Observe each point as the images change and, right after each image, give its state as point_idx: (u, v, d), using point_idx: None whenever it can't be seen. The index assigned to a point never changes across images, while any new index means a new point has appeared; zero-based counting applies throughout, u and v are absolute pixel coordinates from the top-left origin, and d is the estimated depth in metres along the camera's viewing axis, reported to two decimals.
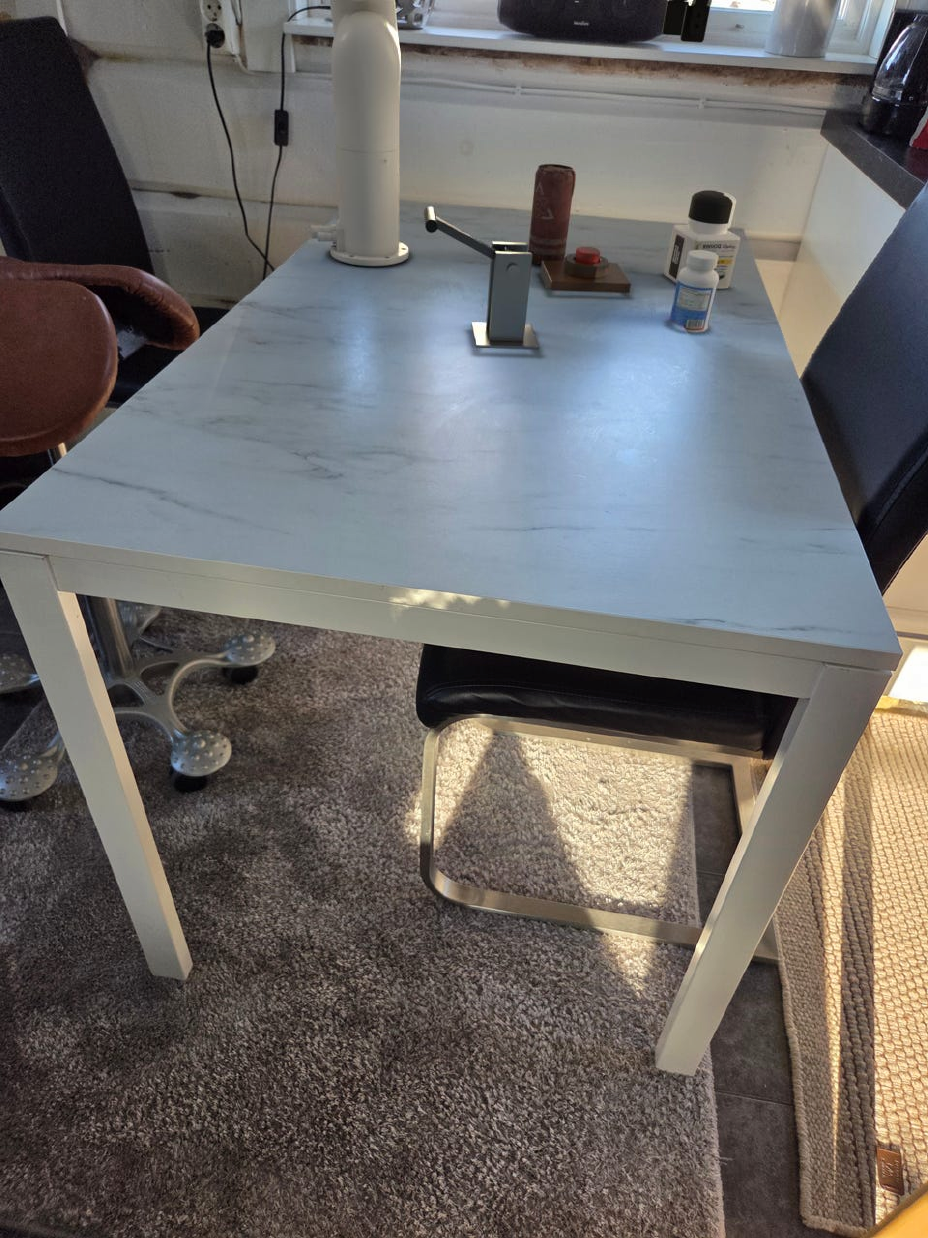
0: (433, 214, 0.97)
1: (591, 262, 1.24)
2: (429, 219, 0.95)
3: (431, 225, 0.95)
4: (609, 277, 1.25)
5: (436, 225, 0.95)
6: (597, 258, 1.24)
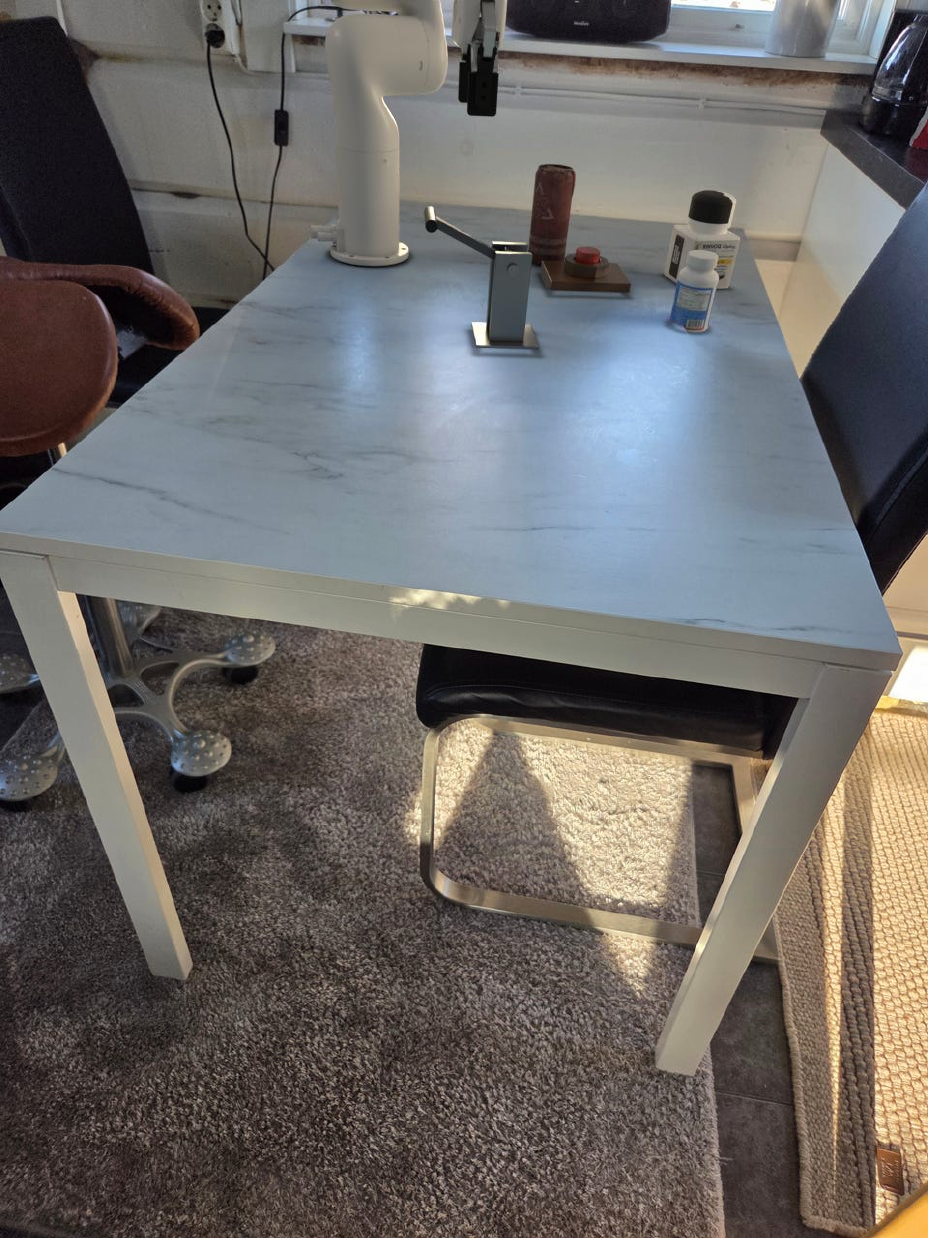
0: (433, 214, 0.97)
1: (591, 262, 1.24)
2: (429, 219, 0.95)
3: (431, 225, 0.95)
4: (609, 277, 1.25)
5: (436, 225, 0.95)
6: (597, 258, 1.24)
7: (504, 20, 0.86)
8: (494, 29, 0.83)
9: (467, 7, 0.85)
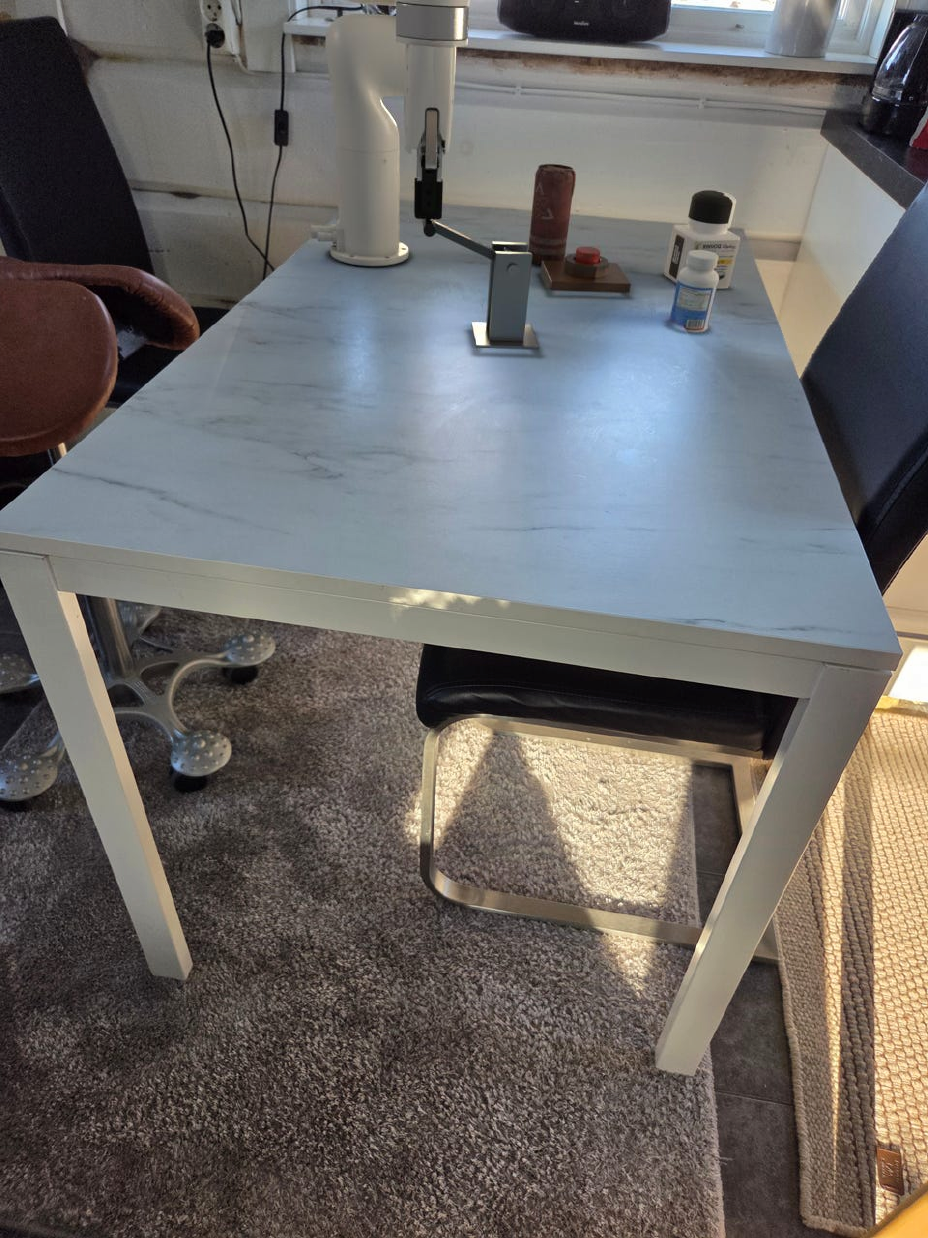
0: None
1: (591, 262, 1.24)
2: (427, 223, 0.96)
3: (429, 229, 0.96)
4: (609, 277, 1.25)
5: (434, 229, 0.96)
6: (597, 258, 1.24)
7: (449, 128, 0.88)
8: (434, 168, 0.90)
9: (412, 117, 0.87)
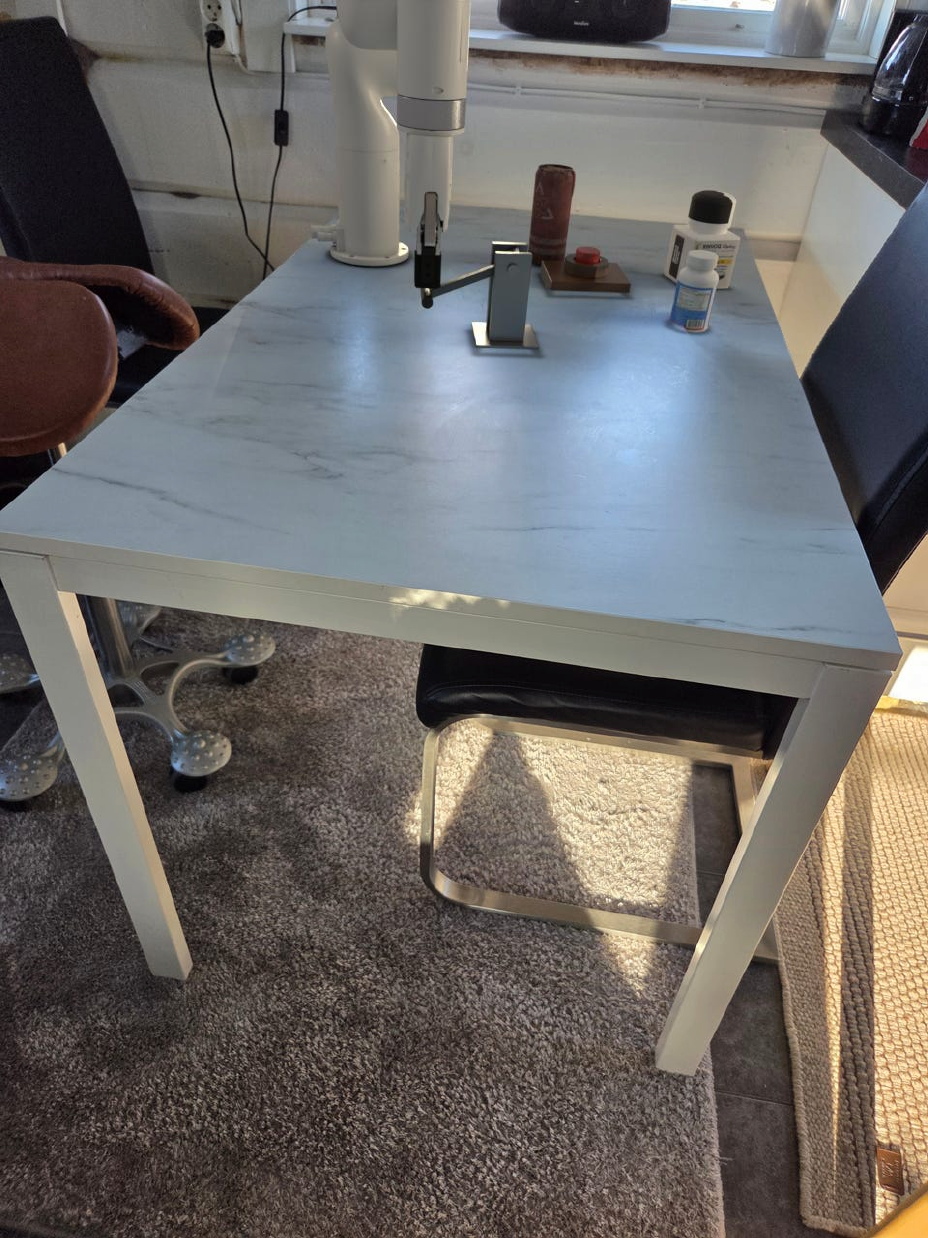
0: (424, 290, 1.03)
1: (591, 262, 1.24)
2: (422, 299, 1.01)
3: (427, 302, 1.01)
4: (609, 277, 1.25)
5: (430, 298, 1.01)
6: (597, 258, 1.24)
7: (447, 210, 0.93)
8: (433, 245, 0.95)
9: (412, 200, 0.92)
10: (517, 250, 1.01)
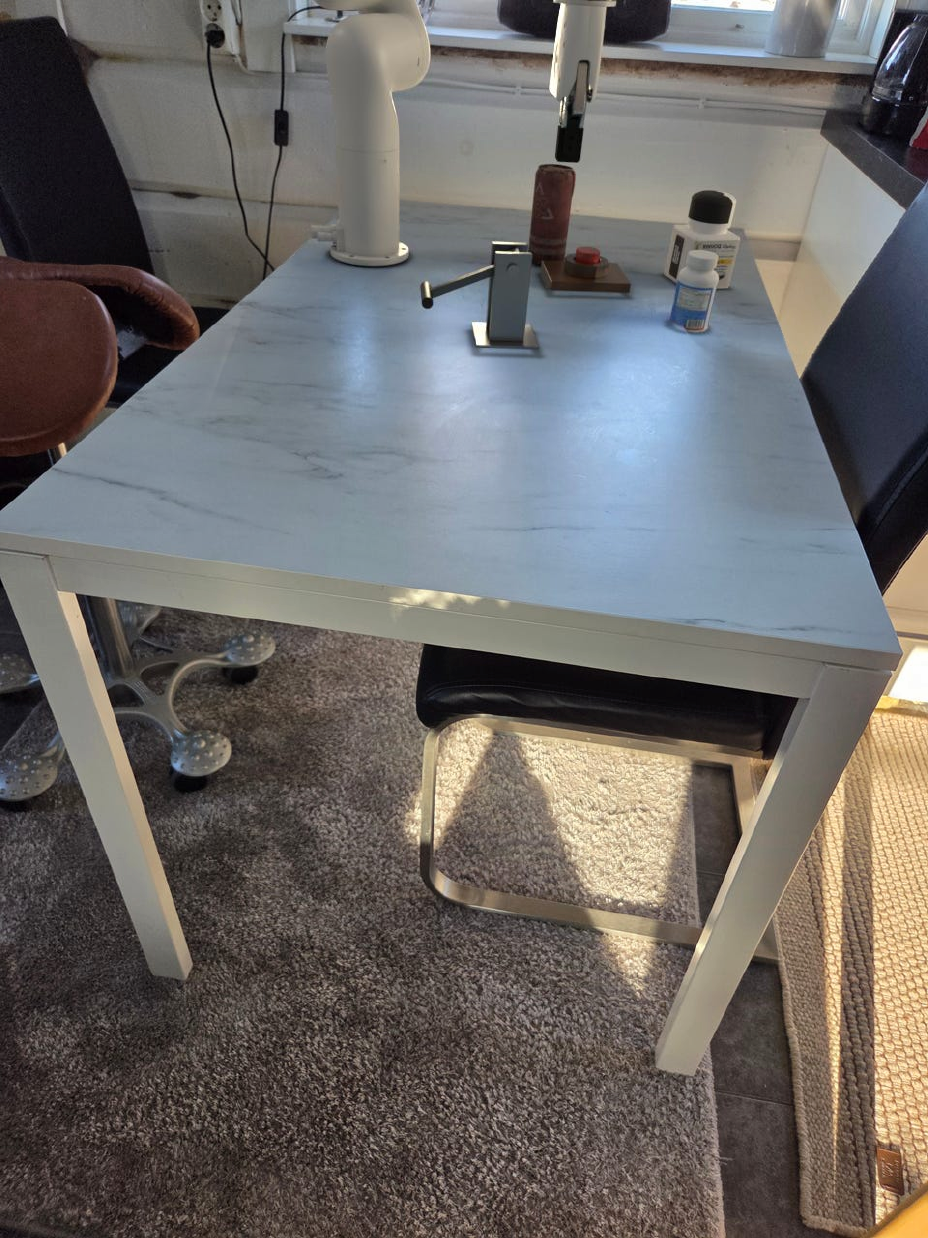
0: (425, 290, 1.03)
1: (591, 262, 1.24)
2: (422, 300, 1.01)
3: (427, 302, 1.01)
4: (609, 277, 1.25)
5: (430, 299, 1.01)
6: (597, 258, 1.24)
7: (597, 78, 1.01)
8: (581, 114, 1.03)
9: (566, 68, 1.00)
10: (517, 250, 1.01)
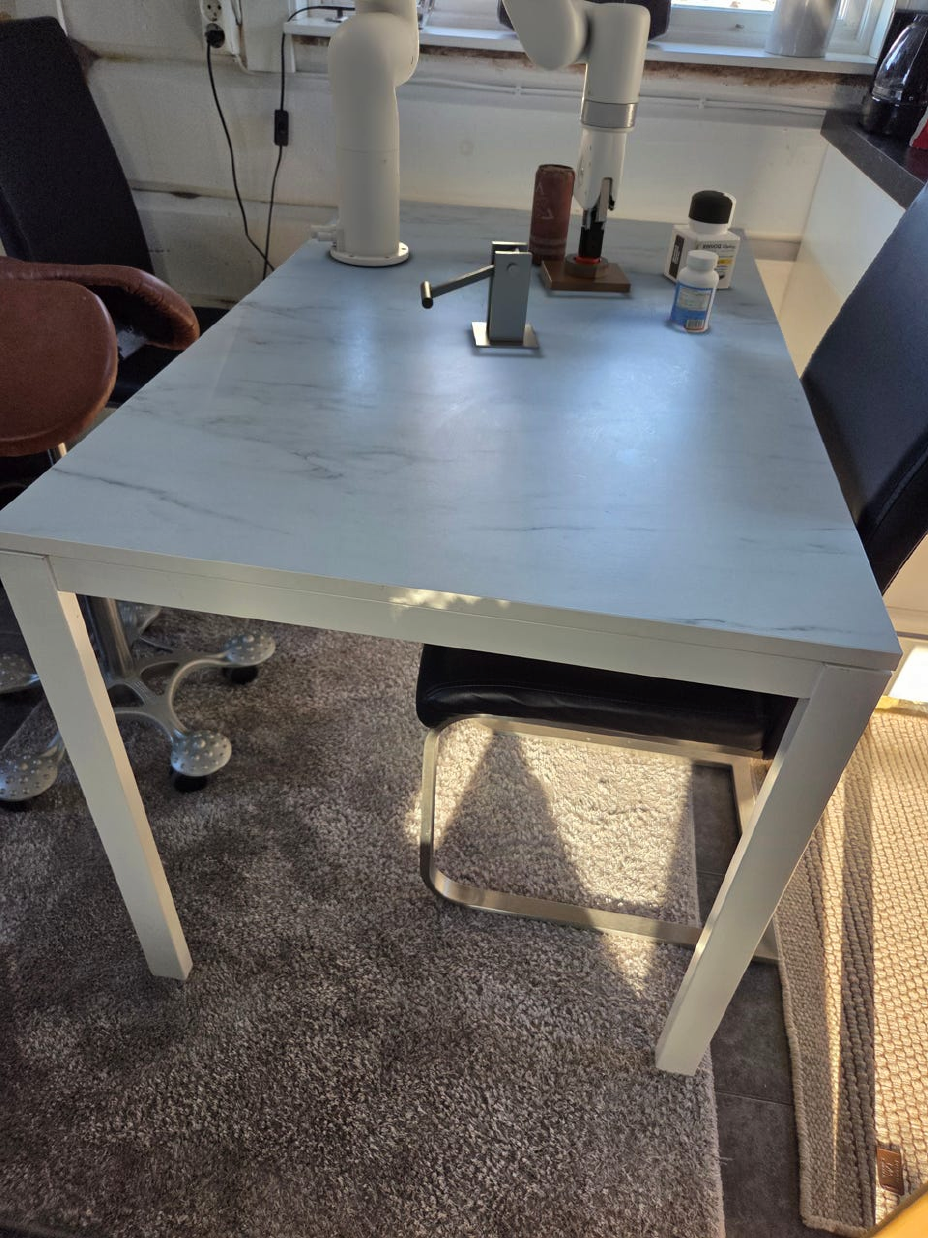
0: (425, 290, 1.03)
1: None
2: (422, 300, 1.01)
3: (427, 302, 1.01)
4: (609, 277, 1.25)
5: (430, 299, 1.01)
6: None
7: (618, 192, 1.15)
8: (604, 221, 1.17)
9: (592, 184, 1.14)
10: (517, 250, 1.01)
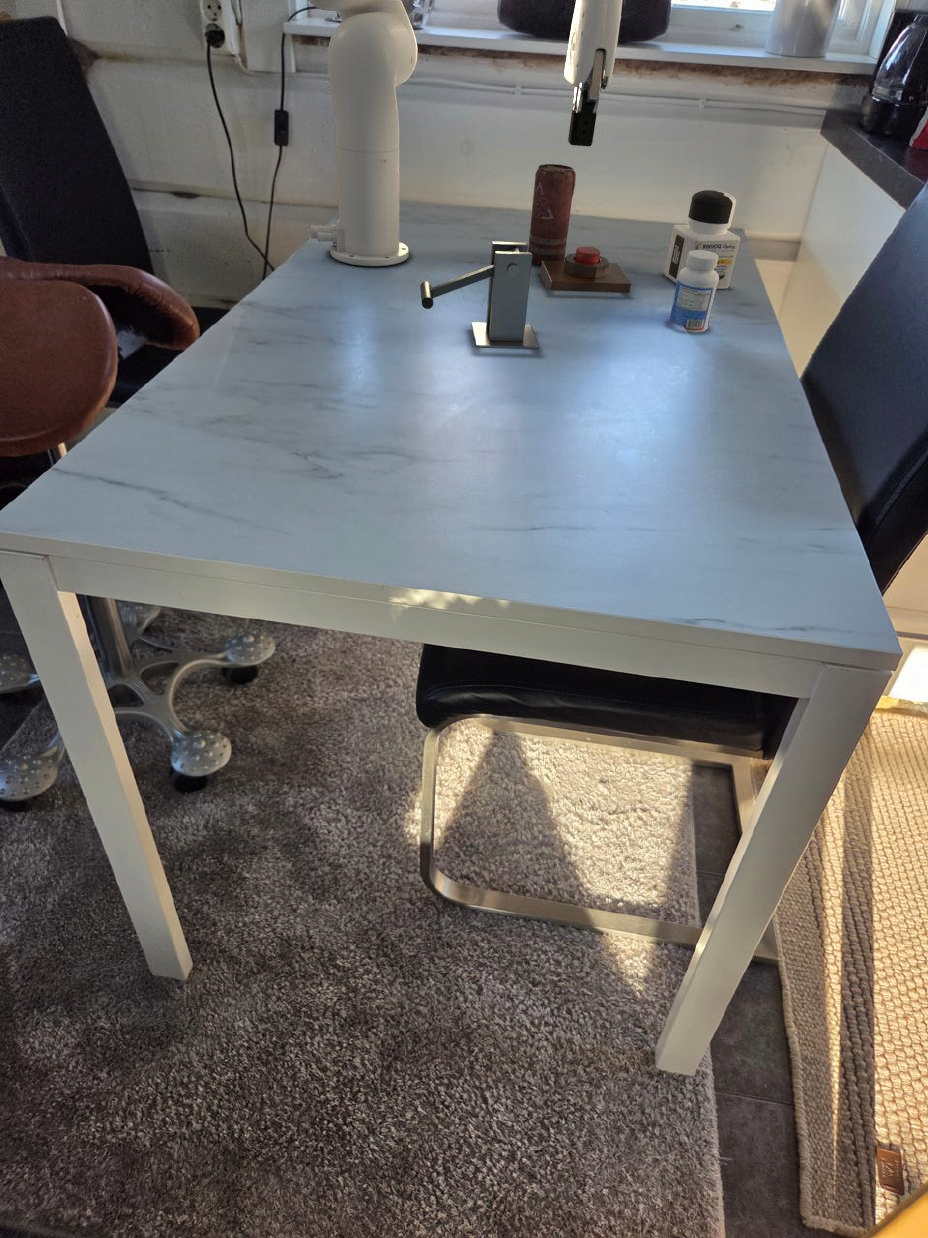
0: (425, 290, 1.03)
1: (591, 262, 1.24)
2: (422, 300, 1.01)
3: (427, 302, 1.01)
4: (609, 277, 1.25)
5: (430, 299, 1.01)
6: (597, 258, 1.24)
7: (612, 66, 1.07)
8: (597, 99, 1.09)
9: (584, 55, 1.06)
10: (517, 250, 1.01)
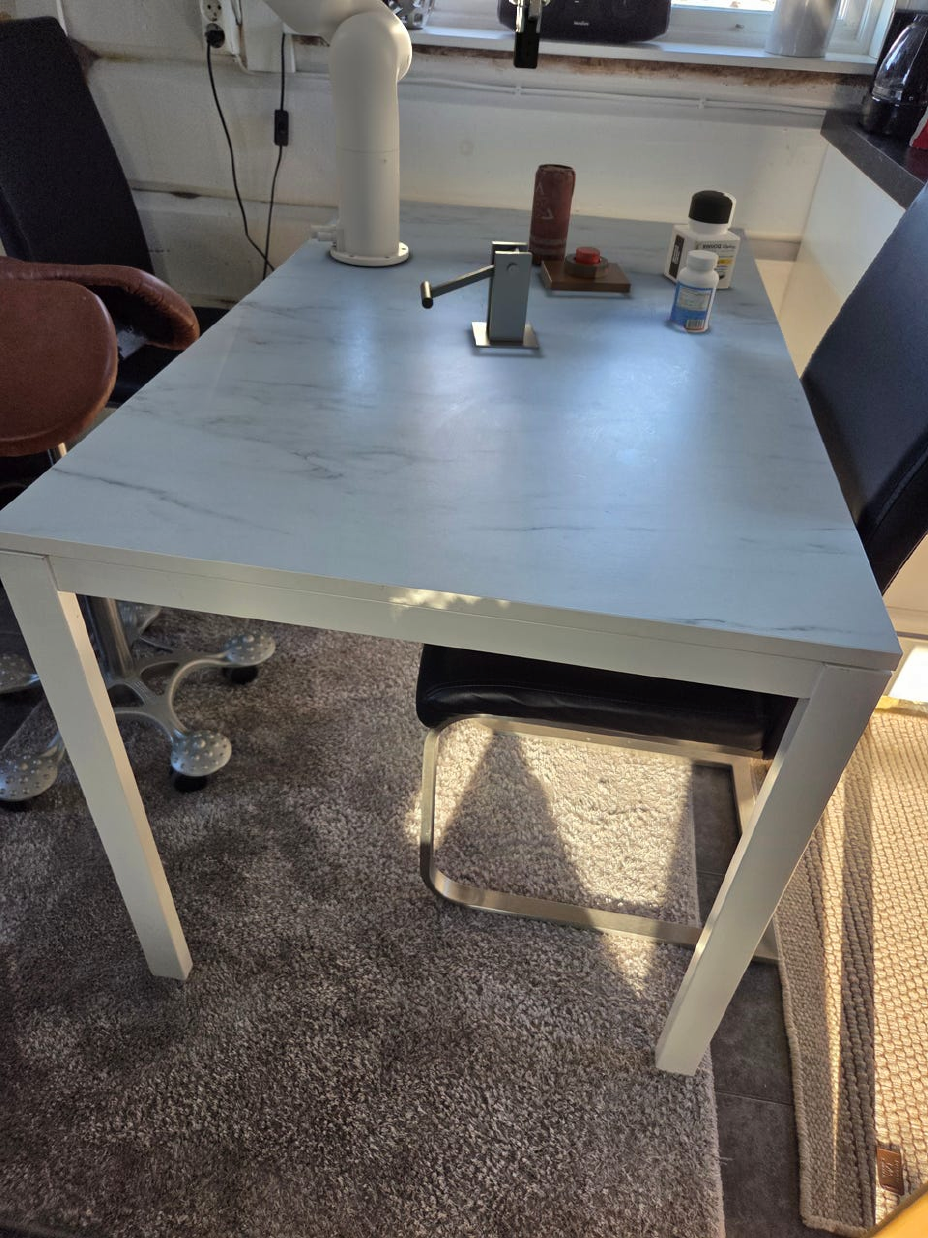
0: (425, 290, 1.03)
1: (591, 262, 1.24)
2: (422, 300, 1.01)
3: (427, 302, 1.01)
4: (609, 277, 1.25)
5: (430, 299, 1.01)
6: (597, 258, 1.24)
7: None
8: (537, 15, 1.07)
9: None
10: (517, 250, 1.01)
